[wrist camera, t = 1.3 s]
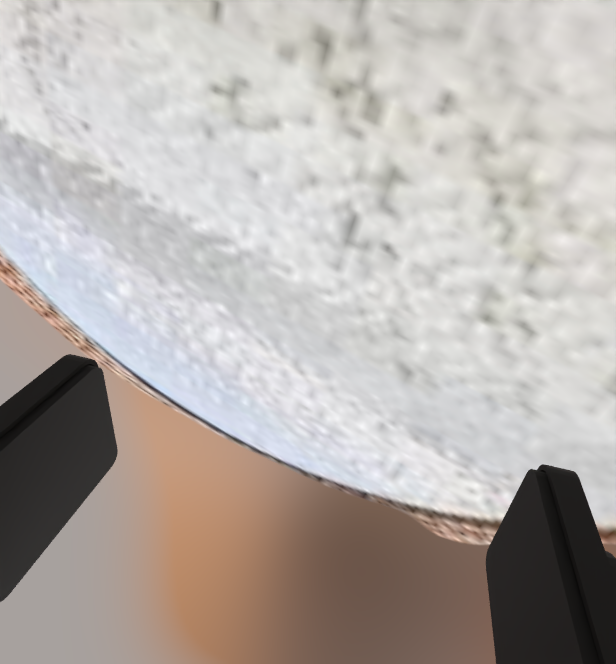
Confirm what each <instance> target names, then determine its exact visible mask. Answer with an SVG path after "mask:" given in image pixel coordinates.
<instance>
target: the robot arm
mask: <svg viewBox="0 0 616 664" xmlns="http://www.w3.org/2000/svg"><path fill="white" fill-rule="evenodd" d="M116 457H117V445H116V440H115V434H114V429H113V424H112V418H111V412H110V407H109V402H108V396H107V391H106V386H105V380H104V375H103V371H102V369H101V368H99V367H98V364H97V362H96V361H95V360H92V359H88V358H84V357H80V356H76V355H71V354H69V355H66V356H64V357H62V358H61V359H60V360H58V361H57V362H56V363H55V364H53V365H52V366H51V367H50V368H48V369H47V370H46V371H44V372H43V373H42V374H41V375H39V376H38V377H37V378H36V379H34V380H33V381H32V382H31V383H29V384H28V385H27V386H25V387H24V388H23V389H22V390H20V391H19V392H18V393H16V394H15V395H14V396H13V397H11V398H10V399H9V400H8V401H6V402H5V403H4V404H2V405H1V406H0V602H1V601H3V600H4V599H5V598H6V597H7V596H8V595H9V594H10V593H11V592H12V590H13V589H14V588H15V587H16V585H17V584H18V583H19V582H20V580H21V579H22V578H23V576H24V575H25V574H26V573H27V572H28V570H29V569H30V568H31V566H32V565H33V564H34V563H35V562H36V560H37V559H38V558H39V557H40V555H41V554H42V553H43V552H44V550H45V549H46V548H47V547H48V545H49V544H50V543H51V542H52V540H53V539H54V538H55V537H56V535H57V534H58V533H59V532H60V530H61V529H62V528H63V527H64V525H65V524H66V523H67V522H68V520H69V519H70V518H71V517H72V515H73V514H74V513H75V512H76V510H77V509H78V508H79V507H80V506H81V504H82V503H83V502H84V500H85V499H86V498H87V497H88V495H89V494H90V493H91V492H92V491H93V489H94V488H95V487H96V486H97V484H98V483H99V482H100V480H101V479H102V478H103V477H104V475H105V474H106V473H107V472H108V471H109V469H110V468H111V467H112V465H113V464H114V462H115V460H116ZM486 571H487V580H488V590H489V600H490V609H491V617H492V627H493V637H494V646H495V656H496V664H616V558H615V557H614V556H613V555H612V554H611V553H609V552H607V551H605V550H604V547H603V544H602V541H601V538H600V536H599V533H598V530H597V527H596V524H595V521H594V519H593V516H592V513H591V510H590V507H589V505H588V502H587V499H586V496H585V493H584V491H583V488H582V485H581V482H580V479H579V477H578V475H577V474H576V473H575V472H574V471H570V470H566V469H561V468H557V467H553V466H549V465H543V464H542V465H541V466H539V468H538V469H537V470H533V469H530V470H529V471H528V472H527V474H526V476H525V478H524V480H523V482H522V484H521V485H520V487H519V489H518V491H517V493H516V495H515V497H514V499H513V501H512V503H511V505H510V507H509V509H508V511H507V513H506V515H505V517H504V519H503V521H502V523H501V525H500V526H499V528H498V530H497V532H496V534H495V536H494V538H493V540H492V542H491V544H490V546H489V549H488V551H487V556H486Z"/></svg>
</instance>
